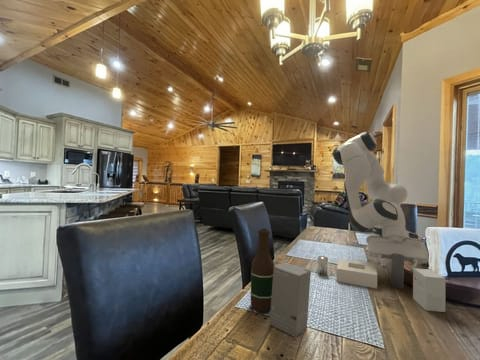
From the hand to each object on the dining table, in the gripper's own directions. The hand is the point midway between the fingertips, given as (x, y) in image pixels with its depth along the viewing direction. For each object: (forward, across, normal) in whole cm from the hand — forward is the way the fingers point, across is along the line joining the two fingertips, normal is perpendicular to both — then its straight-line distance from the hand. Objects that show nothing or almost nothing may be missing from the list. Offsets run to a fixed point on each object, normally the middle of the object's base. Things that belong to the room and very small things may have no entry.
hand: (397, 269), depth 93 cm
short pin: (+4, -27, +5) cm, 28 cm away
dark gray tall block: (+4, 0, +5) cm, 7 cm away
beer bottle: (+31, -40, -21) cm, 55 cm away
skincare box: (+36, -30, -26) cm, 53 cm away
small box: (+13, +7, -3) cm, 15 cm away
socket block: (+3, -14, +6) cm, 16 cm away
